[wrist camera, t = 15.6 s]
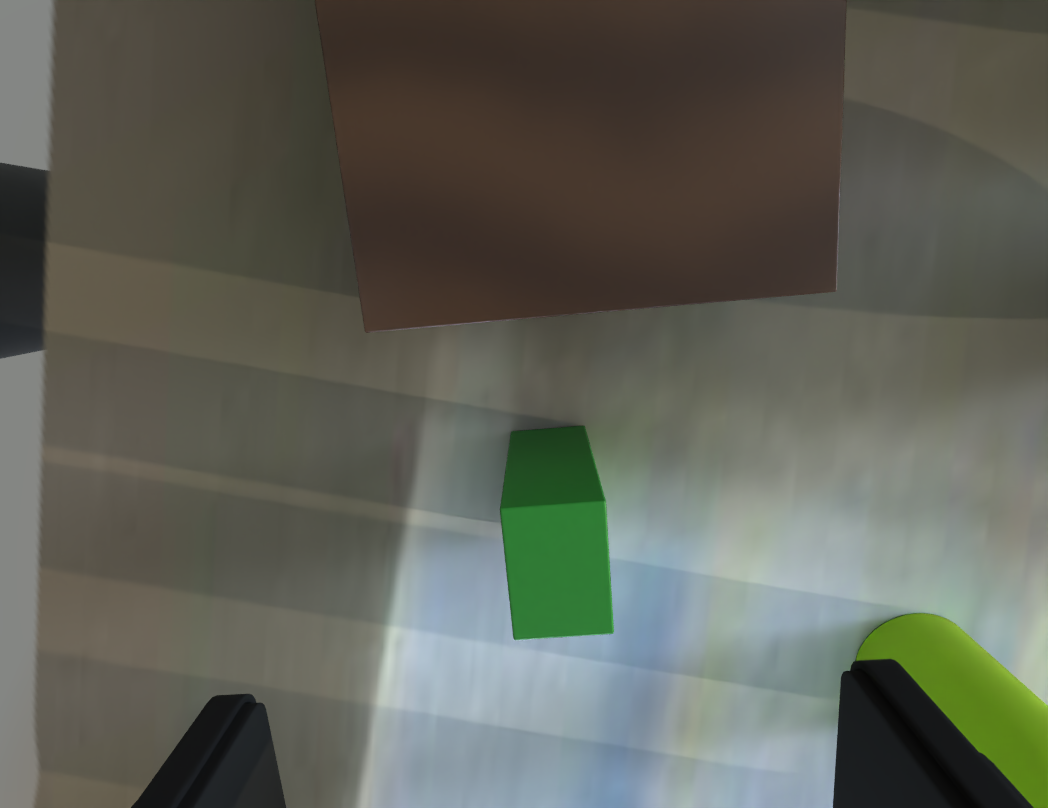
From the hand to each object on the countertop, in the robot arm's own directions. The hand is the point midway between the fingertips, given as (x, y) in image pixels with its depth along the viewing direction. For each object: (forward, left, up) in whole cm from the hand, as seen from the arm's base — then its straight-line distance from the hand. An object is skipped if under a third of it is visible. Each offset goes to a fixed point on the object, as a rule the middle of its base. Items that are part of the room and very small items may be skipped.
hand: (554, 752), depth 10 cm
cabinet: (+2, +13, -19) cm, 24 cm away
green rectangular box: (0, -3, -19) cm, 20 cm away
